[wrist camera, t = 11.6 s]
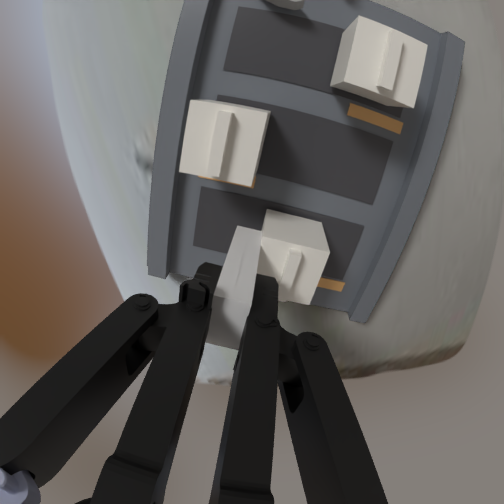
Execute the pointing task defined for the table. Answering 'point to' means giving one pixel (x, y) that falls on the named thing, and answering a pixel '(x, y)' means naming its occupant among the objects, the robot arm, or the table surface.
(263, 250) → the white ridged block
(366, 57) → the white notched block
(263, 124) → the white slider knob
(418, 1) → the table surface
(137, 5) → the table surface
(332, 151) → the switch bank
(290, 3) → the adjustable wrench
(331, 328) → the table surface
